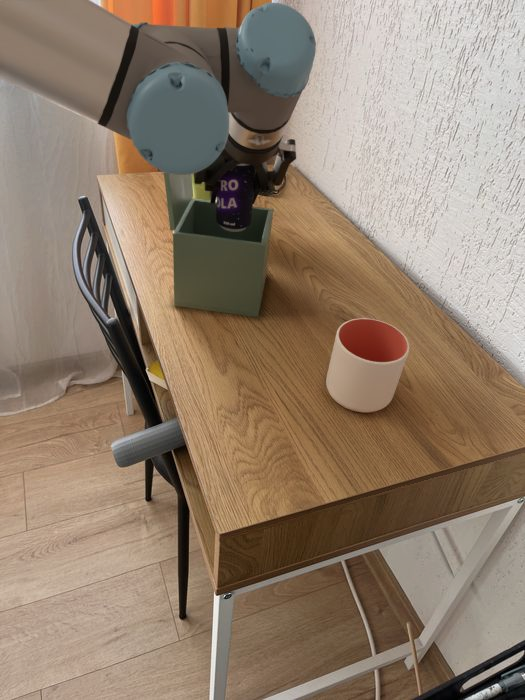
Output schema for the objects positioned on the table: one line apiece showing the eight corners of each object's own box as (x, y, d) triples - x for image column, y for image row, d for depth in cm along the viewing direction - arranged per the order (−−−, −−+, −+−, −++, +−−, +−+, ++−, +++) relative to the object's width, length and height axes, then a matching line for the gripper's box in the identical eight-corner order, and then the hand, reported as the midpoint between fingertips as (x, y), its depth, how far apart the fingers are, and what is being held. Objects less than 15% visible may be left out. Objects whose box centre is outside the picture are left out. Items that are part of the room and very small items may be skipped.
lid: (185, 100, 82) (180, 100, 82) (163, 127, 72) (158, 126, 72) (193, 195, 92) (188, 195, 92) (175, 230, 81) (170, 230, 81)
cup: (392, 377, 81) (410, 326, 75) (390, 423, 74) (409, 370, 67) (329, 363, 82) (340, 311, 76) (320, 407, 75) (332, 354, 68)
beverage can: (216, 216, 87) (219, 142, 79) (250, 219, 87) (256, 146, 80) (214, 232, 83) (217, 156, 75) (250, 235, 83) (256, 159, 75)
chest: (265, 276, 101) (273, 208, 92) (258, 317, 90) (265, 245, 81) (190, 266, 101) (191, 198, 92) (174, 306, 90) (172, 233, 82)
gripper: (176, 149, 61) (174, 217, 84) (331, 155, 64) (288, 218, 87) (174, 87, 61) (173, 171, 84) (327, 96, 65) (286, 174, 88)
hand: (232, 195), depth 86 cm, fingers closed on beverage can, 6 cm apart
